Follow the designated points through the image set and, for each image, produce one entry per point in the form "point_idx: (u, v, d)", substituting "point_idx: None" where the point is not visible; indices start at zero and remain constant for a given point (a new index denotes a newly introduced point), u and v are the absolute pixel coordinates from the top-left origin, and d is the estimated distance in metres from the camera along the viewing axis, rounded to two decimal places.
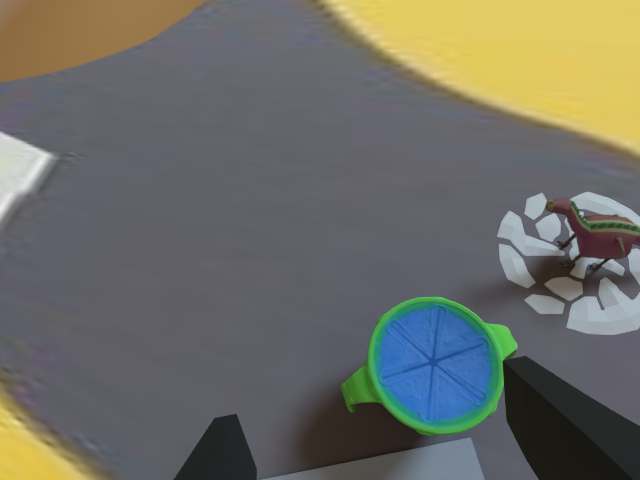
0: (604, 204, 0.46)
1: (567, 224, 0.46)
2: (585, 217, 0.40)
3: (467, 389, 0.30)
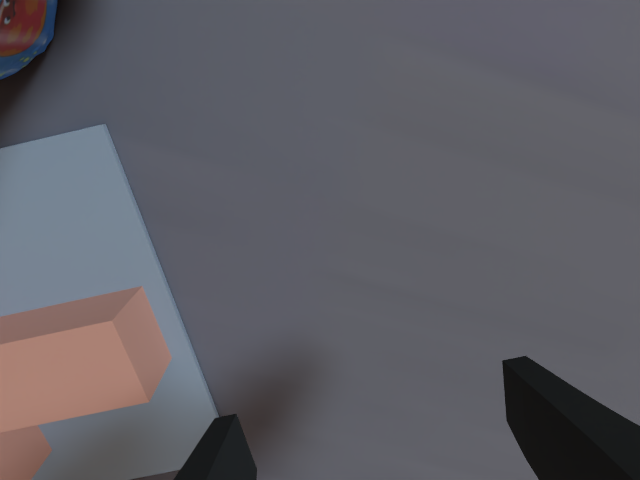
0: None
1: None
2: None
3: None
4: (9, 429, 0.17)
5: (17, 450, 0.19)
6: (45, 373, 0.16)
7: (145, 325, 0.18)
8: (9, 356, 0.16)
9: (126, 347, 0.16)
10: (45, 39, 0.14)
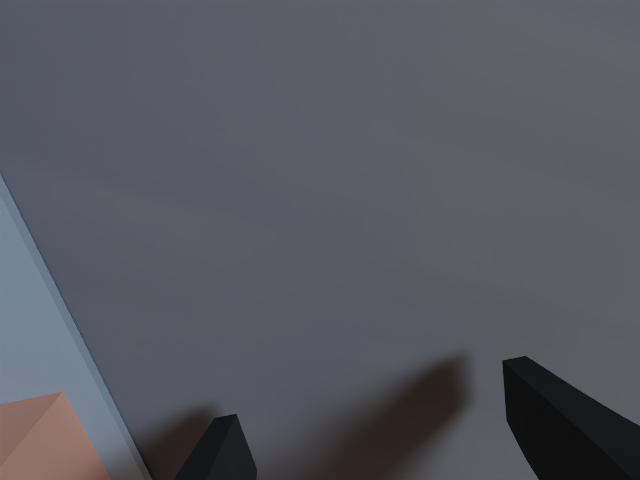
0: None
1: None
2: None
3: None
4: None
5: None
6: None
7: (65, 459, 0.11)
8: None
9: None
10: None
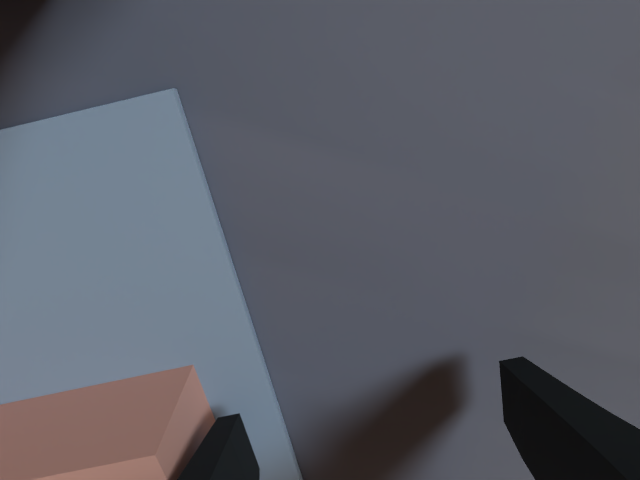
0: None
1: None
2: None
3: None
4: None
5: None
6: None
7: (201, 432, 0.11)
8: None
9: None
10: None
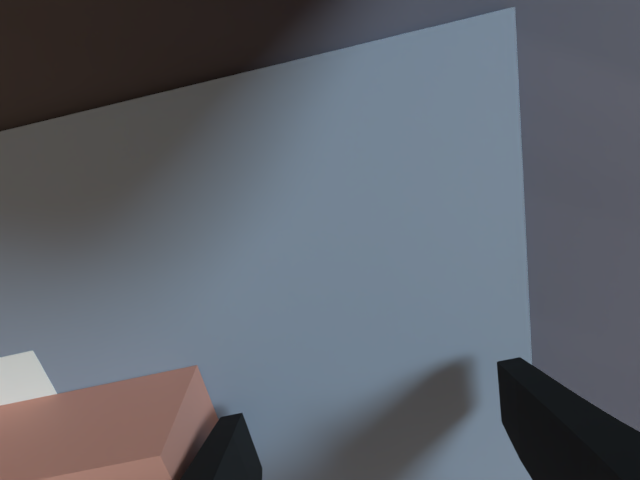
0: None
1: None
2: None
3: None
4: None
5: None
6: None
7: (205, 432, 0.11)
8: None
9: None
10: None
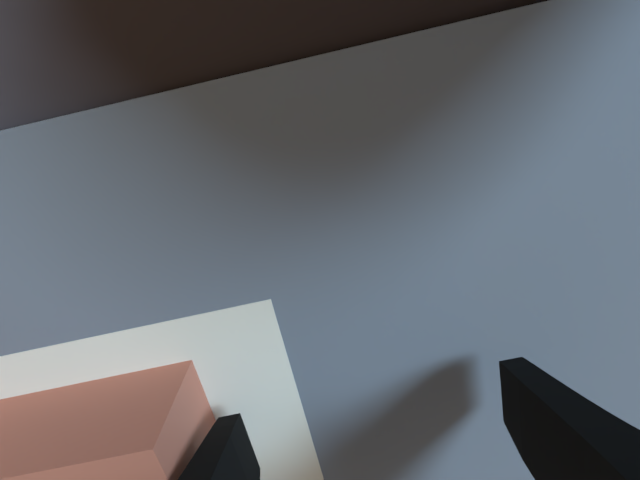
0: None
1: None
2: None
3: None
4: None
5: None
6: None
7: (199, 427, 0.11)
8: None
9: None
10: None
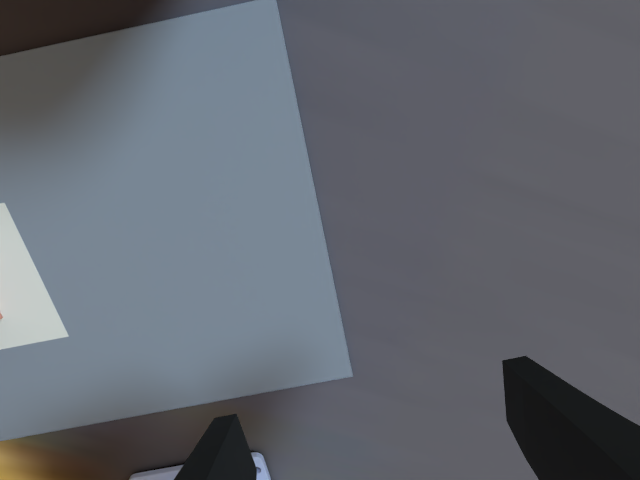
0: None
1: None
2: None
3: None
4: None
5: None
6: None
7: None
8: None
9: None
10: None
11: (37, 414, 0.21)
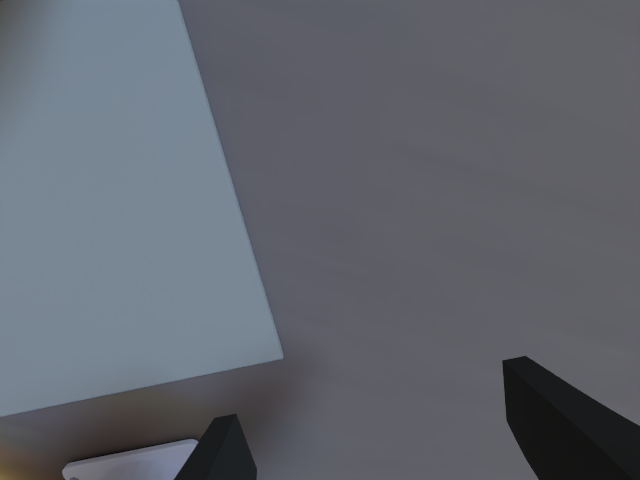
0: None
1: None
2: None
3: None
4: None
5: None
6: None
7: None
8: None
9: None
10: None
11: None
